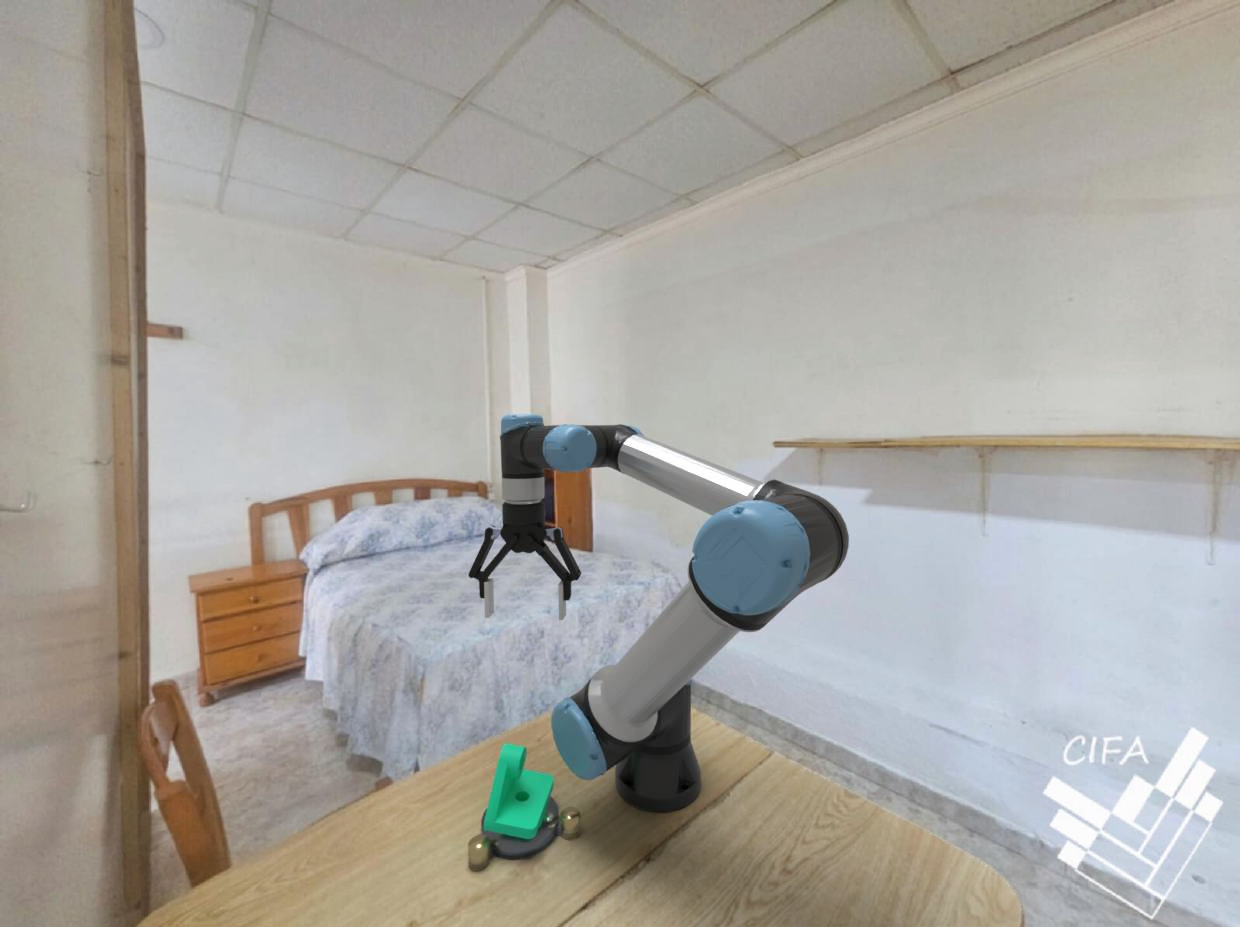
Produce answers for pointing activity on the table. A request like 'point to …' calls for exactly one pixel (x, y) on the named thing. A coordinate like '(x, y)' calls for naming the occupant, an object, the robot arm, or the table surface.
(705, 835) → the table surface
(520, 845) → the plate
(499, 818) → the camera mount
